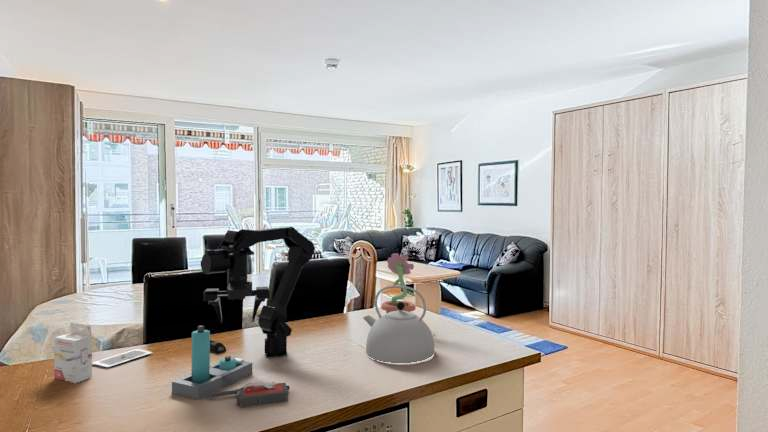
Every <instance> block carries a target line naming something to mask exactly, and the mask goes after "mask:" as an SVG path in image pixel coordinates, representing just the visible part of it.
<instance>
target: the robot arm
mask: <svg viewBox="0 0 768 432" xmlns="http://www.w3.org/2000/svg"><path fill="white" fill-rule="evenodd" d="M224 234H225V236H224V238H223V240H222V241H221V243H220V244H219V246H218V247H217V248H216V249H205V250H204V254H203V255H202V257H201V260H200V268H201V271H202V273H204V274H205V275H210V274H218V273H226V272H227V281H226V290H220V288H214V287H213V288H206V289H205V290H204V291H203V295H202V296H203V299H202V301H203V302H207V303H208V305H212V307H213V308H214V310H215V312H216V315H217V317H218V318H217V319H218V321H219V323H220V324H222V323H223V315H222V313H223V312H222V306H221V298H227V300H230V301H233V300H244V299H246V297H254V303H253V309H252V318H251V319H252V320H251V321H252V322H254V321H255V318H256V316H257V312H258V310H259V307H260V305H261V304H262V302H266V299H270V296H271V295H270V292H271V291H270V288H269V286H256V287H255V289H253V281H248V259H249V258H248V256H252V255H255V252H254V251H253V250H252V249H250V247H253V246H255V245H256V244H259V243H263V242H270V241H279V240H283V242H284V245H285V246H286V247H287V248H288V252H287V256H288V257H287V258H288V262H287V265H286V268H285V270H284V272H283V274H282V276H281V280H280V282H279V284H278V287H277V288H276V291H275V294H274V296H273V299H272V301H271V302H270V303H269V304H268V305H266V304H263V306H262V308H261V310H260V313H259V314H258V316H257V318H258V322H257V323H258V326H259V328H260V329H261V331H262V333H263V334H264V335H266V338H264V354H265V355H266V357H267V358H271V357H282V356H283V357H284V356H288V351H287V346H288V345H287V343H288V340H287V339H288V338H287V337H289V336H291V334H292V329H293V328H292V327H290V326H289V325H288V324H287V323H286V322H287V317H288V315H287V314H288V313H287V312H288V311H287V306H288V303H289V301H290V299H291V296H292V294H293V291H294V289H295V286H296V283H297V281H298V280H299V276H300V274H301V271H302V269H303V267H304V266H305V265H306V264H307V263H309V261H310V260H311V259H312V257H313V255H314V254H315V251H316V247H315V244H314V242H313V241H312V240H309V239H308V238H307V237H306V236H305V235H303V234H302V233H300V232H299V231H298V230H297V229H296V228H295V227H293V226H286V225H283V226H280V227H273V228H263V229H261V228H260V229H254V230H253V229H242V228H229V229H228V230H227V231H226V233H224Z"/></svg>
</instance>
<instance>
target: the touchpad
mask: <svg viewBox="0 0 768 432" xmlns="http://www.w3.org/2000/svg"><path fill="white" fill-rule="evenodd" d="M153 353H154V352H153V351H149V350H144V349H140V348H135V349H131V350H129V351H125V352H122V353H119V354H115V355H112V356H109V357H106V358H103V359H99V360H96V361H92V365H97V366H102V367H105V368H110V367H113V366H116V365H120V364H122V363H125V362H129V361H131V360H134V359H137V358H141V357H144V356H146V355H147V356H148V355H149V354H153Z"/></svg>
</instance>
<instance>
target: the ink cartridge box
mask: <svg viewBox="0 0 768 432" xmlns="http://www.w3.org/2000/svg"><path fill="white" fill-rule="evenodd" d="M69 326H70V332H69V333H66V334H61V335H57V336H55V337H54V379H55V380H58V379H59V380H58V381H62V380H65V381H64V382H67V381H71V382H70V383H72V382H75V383H74V384H77V382H78V383H81V382H83V381H85V379H86V380H89V379H91V378H92V377H93V363H92V362H93V351H92V350H93V336H92V326H91V325H90V324H84V323H79V322H77V323H76V322H70V324H69ZM78 328H81V329H82V330H81V329H78ZM83 329H84V330H83ZM80 381H81V382H80Z"/></svg>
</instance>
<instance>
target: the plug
mask: <svg viewBox="0 0 768 432" xmlns="http://www.w3.org/2000/svg"><path fill="white" fill-rule="evenodd" d="M210 340H211V331H210V329H209V330H208V329H205V325H198V326H197V330H194V331H192V332H191V373H192V378H191V382H194V383H199V384H201V383H203V382H205V381H207V380H209V379H210V365H211V364H210V363H211V360H210V359H211V358H210V357H211V355H210V354H211V349H210Z"/></svg>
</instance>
